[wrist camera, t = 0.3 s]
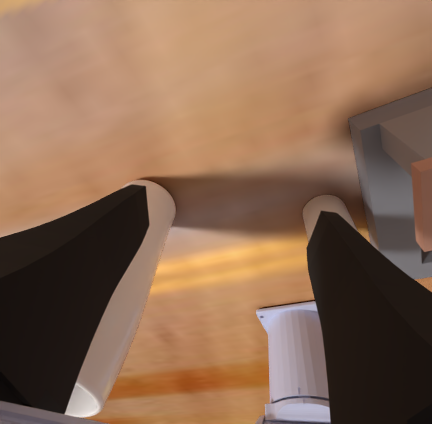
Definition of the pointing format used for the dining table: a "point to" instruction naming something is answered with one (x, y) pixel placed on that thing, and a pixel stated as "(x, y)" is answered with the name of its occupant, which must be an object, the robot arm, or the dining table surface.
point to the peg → (324, 204)
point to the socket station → (398, 179)
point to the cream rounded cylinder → (123, 310)
